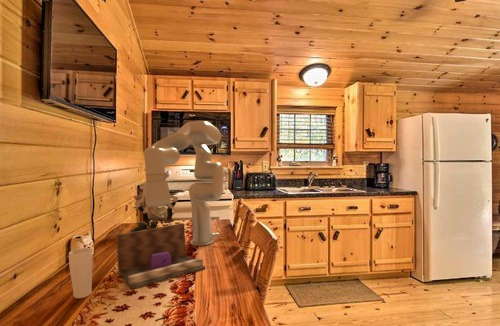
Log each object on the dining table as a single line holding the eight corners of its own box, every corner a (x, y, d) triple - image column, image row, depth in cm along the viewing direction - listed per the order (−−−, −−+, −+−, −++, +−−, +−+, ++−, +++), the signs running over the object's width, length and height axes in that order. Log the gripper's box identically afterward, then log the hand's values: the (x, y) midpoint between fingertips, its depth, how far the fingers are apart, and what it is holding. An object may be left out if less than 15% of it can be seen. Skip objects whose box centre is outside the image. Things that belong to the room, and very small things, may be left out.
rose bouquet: (155, 240, 163) (153, 186, 162) (122, 235, 178) (120, 185, 178) (188, 229, 185) (186, 182, 184) (156, 225, 200) (154, 181, 199)
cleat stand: (184, 255, 134) (182, 223, 134) (205, 268, 117) (203, 231, 117) (118, 271, 118) (116, 234, 118) (131, 289, 101) (129, 246, 101)
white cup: (77, 291, 101) (75, 248, 101) (97, 290, 102) (95, 247, 102) (66, 301, 95) (64, 254, 94) (88, 299, 95) (86, 253, 95)
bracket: (171, 270, 115) (170, 252, 115) (153, 273, 112) (152, 255, 112) (165, 260, 126) (164, 245, 126) (148, 264, 123) (148, 247, 123)
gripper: (172, 176, 127) (175, 215, 128) (130, 179, 117) (133, 222, 118) (179, 176, 121) (182, 218, 121) (135, 180, 111) (138, 225, 111)
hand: (158, 220), depth 119 cm, fingers open, 9 cm apart
